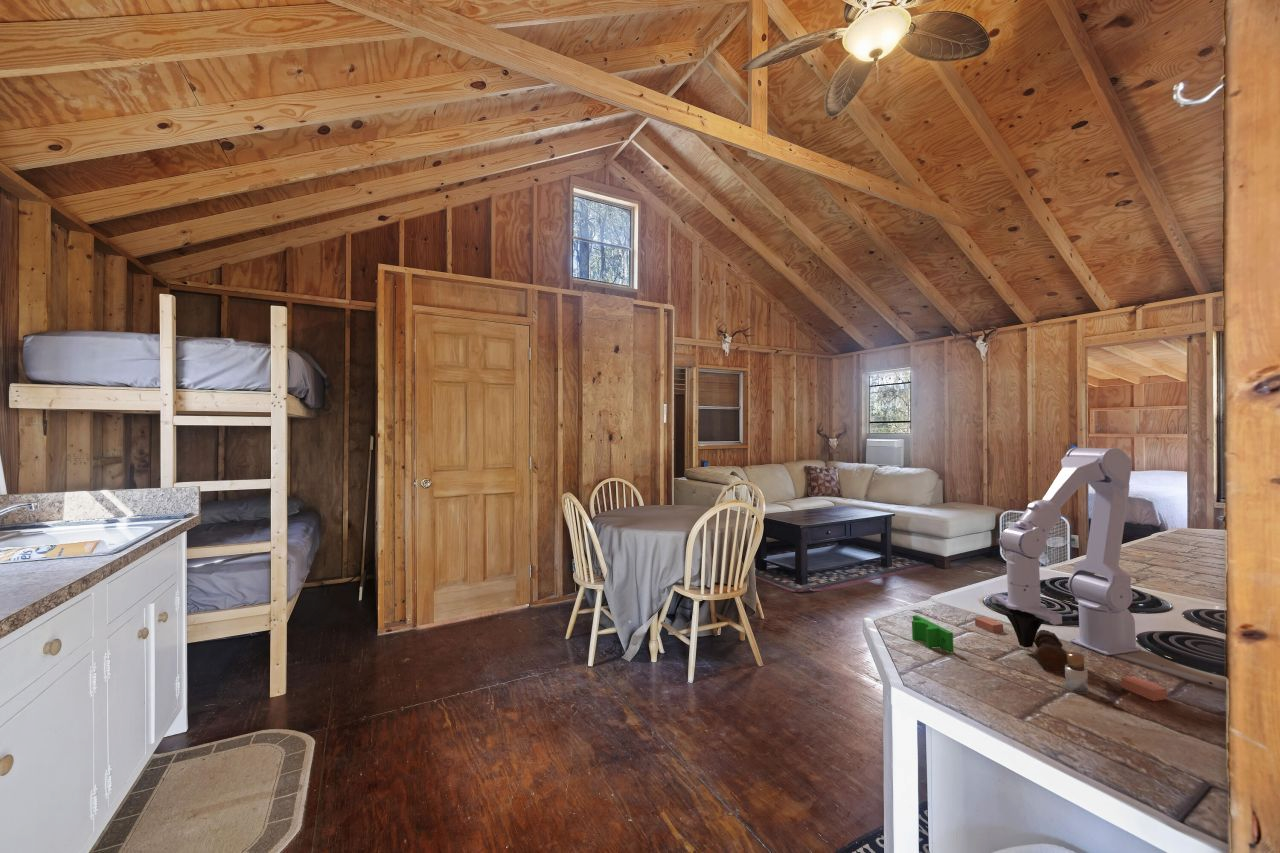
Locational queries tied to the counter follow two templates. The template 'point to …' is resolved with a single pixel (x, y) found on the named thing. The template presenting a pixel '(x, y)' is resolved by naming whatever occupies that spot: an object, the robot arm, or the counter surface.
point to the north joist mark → (1144, 688)
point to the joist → (989, 624)
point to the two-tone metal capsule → (1076, 673)
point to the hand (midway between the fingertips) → (1026, 645)
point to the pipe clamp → (931, 634)
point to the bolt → (1050, 651)
